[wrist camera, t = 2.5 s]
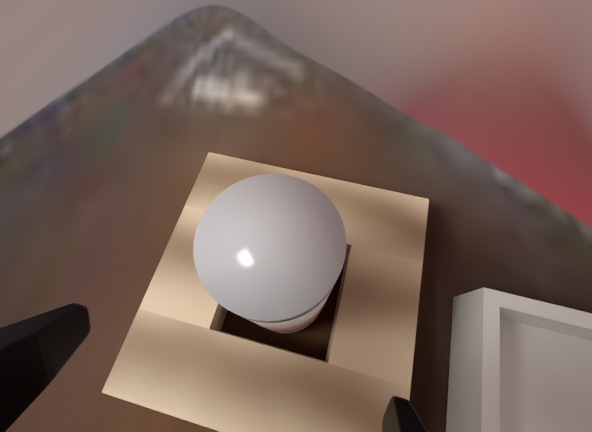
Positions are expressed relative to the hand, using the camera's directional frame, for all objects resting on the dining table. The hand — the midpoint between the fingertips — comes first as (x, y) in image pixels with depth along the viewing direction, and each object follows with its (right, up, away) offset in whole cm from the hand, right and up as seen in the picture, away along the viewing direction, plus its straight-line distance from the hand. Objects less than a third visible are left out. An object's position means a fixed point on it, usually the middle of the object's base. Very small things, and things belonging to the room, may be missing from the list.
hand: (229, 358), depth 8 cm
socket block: (+1, -1, +11) cm, 11 cm away
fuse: (+1, -1, +11) cm, 11 cm away
